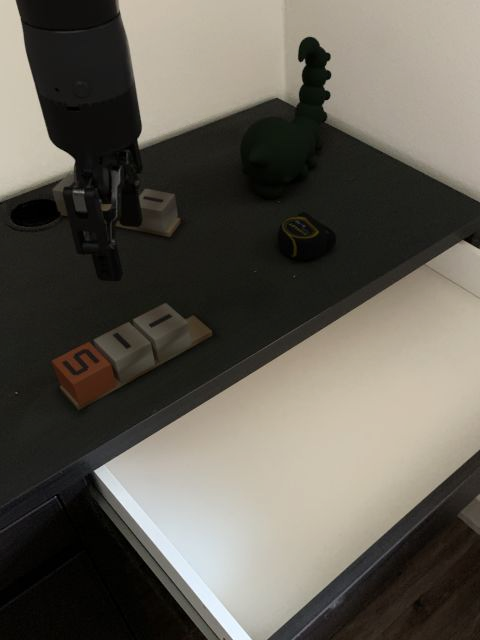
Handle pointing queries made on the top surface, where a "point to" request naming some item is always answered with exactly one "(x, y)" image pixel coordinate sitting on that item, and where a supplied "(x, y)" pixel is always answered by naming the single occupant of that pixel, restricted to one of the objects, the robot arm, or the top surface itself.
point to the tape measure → (305, 237)
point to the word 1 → (154, 206)
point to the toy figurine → (289, 130)
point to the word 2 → (146, 344)
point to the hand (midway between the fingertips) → (121, 250)
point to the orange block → (84, 373)
